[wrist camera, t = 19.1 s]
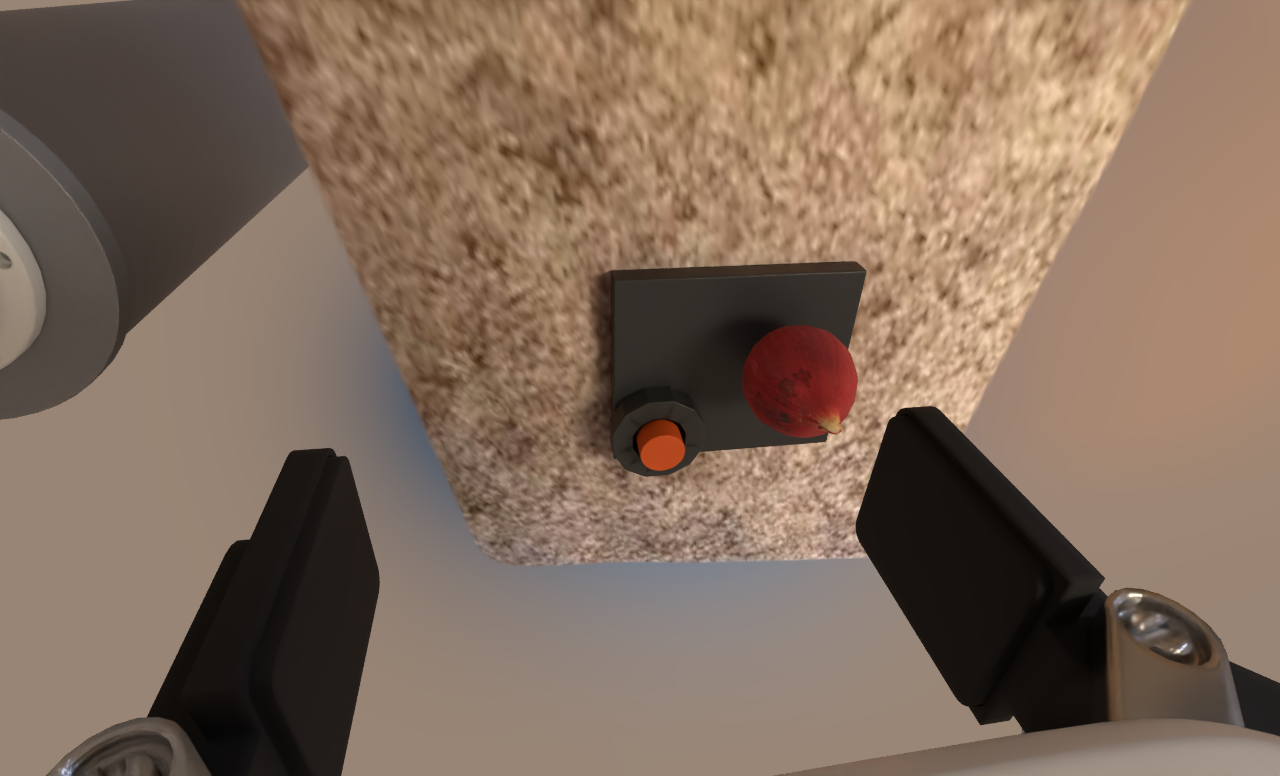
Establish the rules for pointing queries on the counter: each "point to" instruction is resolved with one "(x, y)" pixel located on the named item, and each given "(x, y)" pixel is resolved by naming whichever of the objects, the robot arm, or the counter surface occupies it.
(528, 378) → the counter surface
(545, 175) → the counter surface
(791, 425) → the onion
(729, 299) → the scale
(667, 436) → the power button
